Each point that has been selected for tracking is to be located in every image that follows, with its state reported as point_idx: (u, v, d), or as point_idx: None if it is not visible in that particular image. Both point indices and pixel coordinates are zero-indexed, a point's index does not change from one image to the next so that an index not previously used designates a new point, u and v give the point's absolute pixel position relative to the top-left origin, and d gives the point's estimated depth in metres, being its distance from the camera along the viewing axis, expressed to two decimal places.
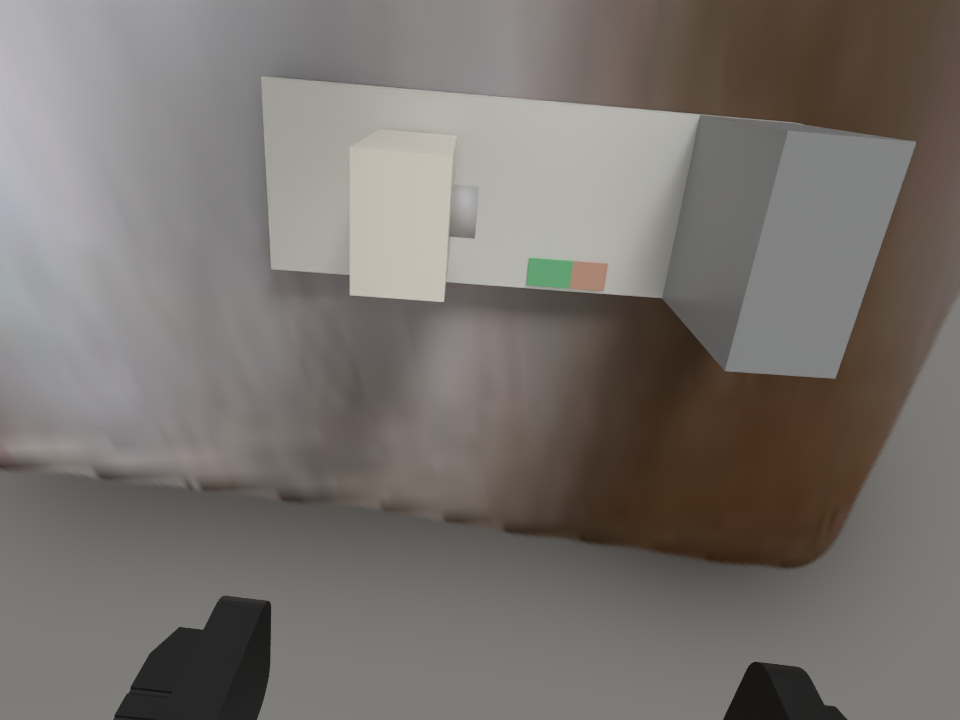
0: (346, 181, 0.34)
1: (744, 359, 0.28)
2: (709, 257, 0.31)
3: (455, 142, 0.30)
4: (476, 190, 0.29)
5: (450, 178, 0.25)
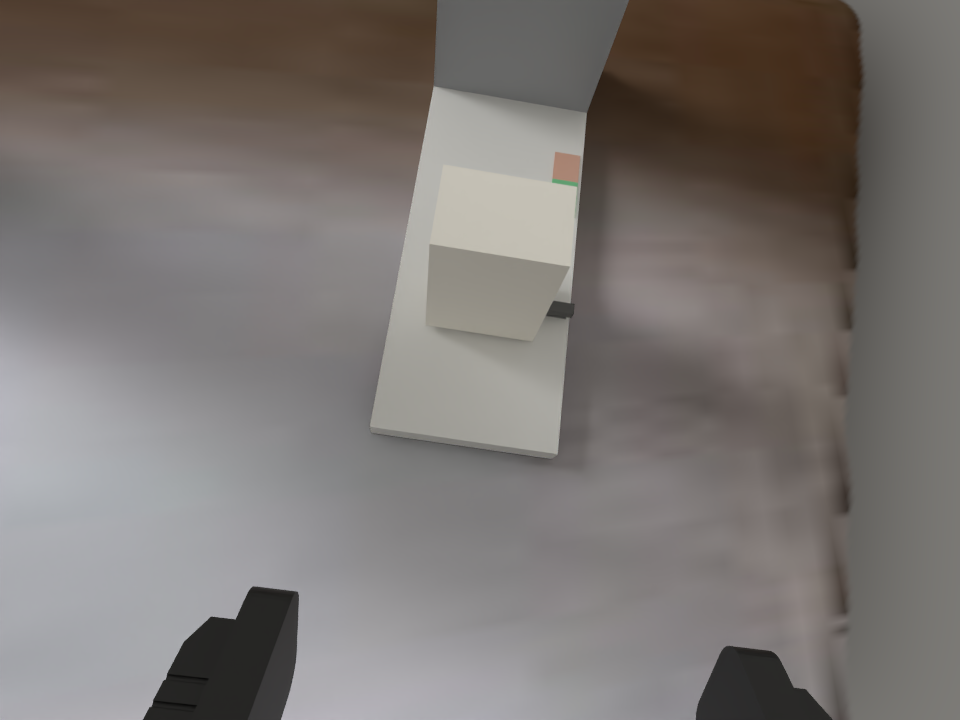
0: (471, 364, 0.35)
1: None
2: (544, 34, 0.36)
3: None
4: None
5: (462, 168, 0.28)
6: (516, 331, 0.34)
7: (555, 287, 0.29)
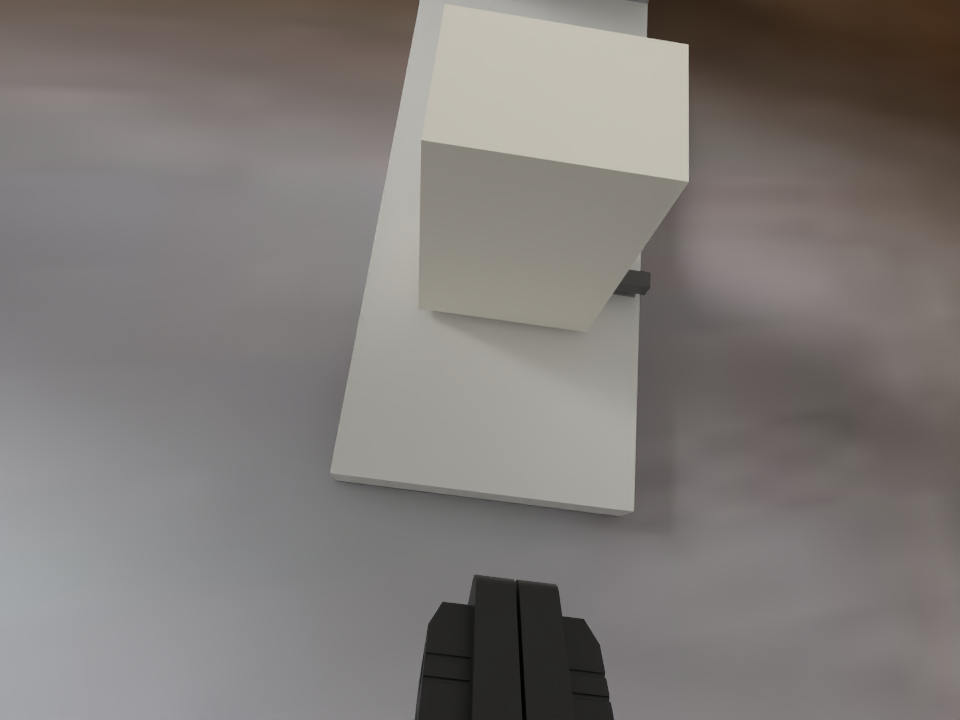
0: (491, 369, 0.22)
1: None
2: None
3: None
4: None
5: (479, 11, 0.15)
6: (563, 315, 0.22)
7: (648, 229, 0.16)
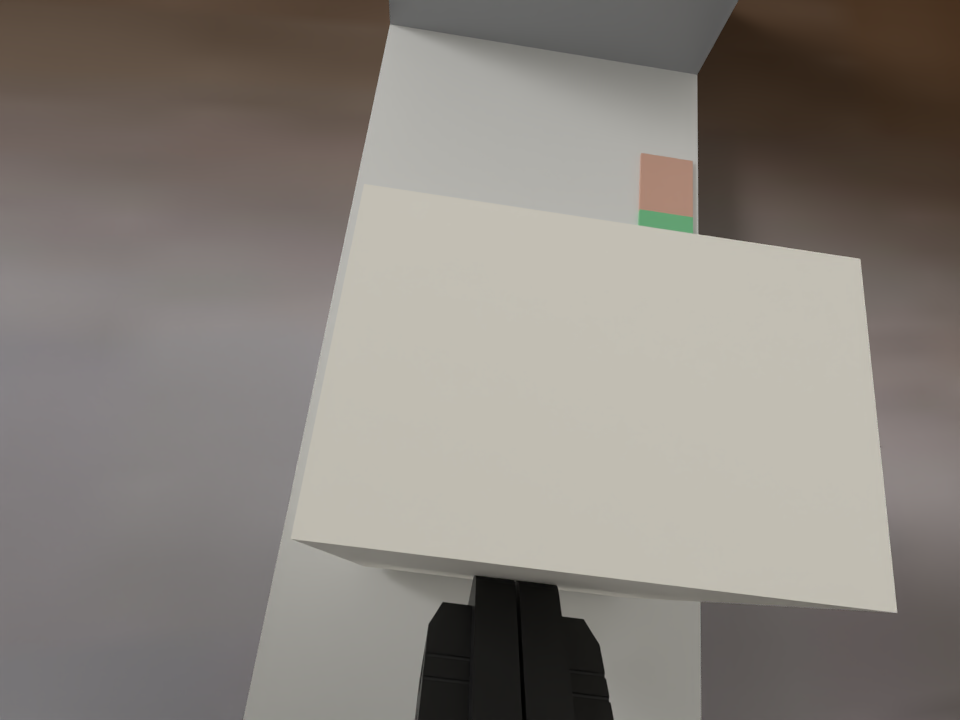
0: None
1: None
2: None
3: None
4: None
5: (436, 199, 0.07)
6: (588, 592, 0.14)
7: (769, 605, 0.08)
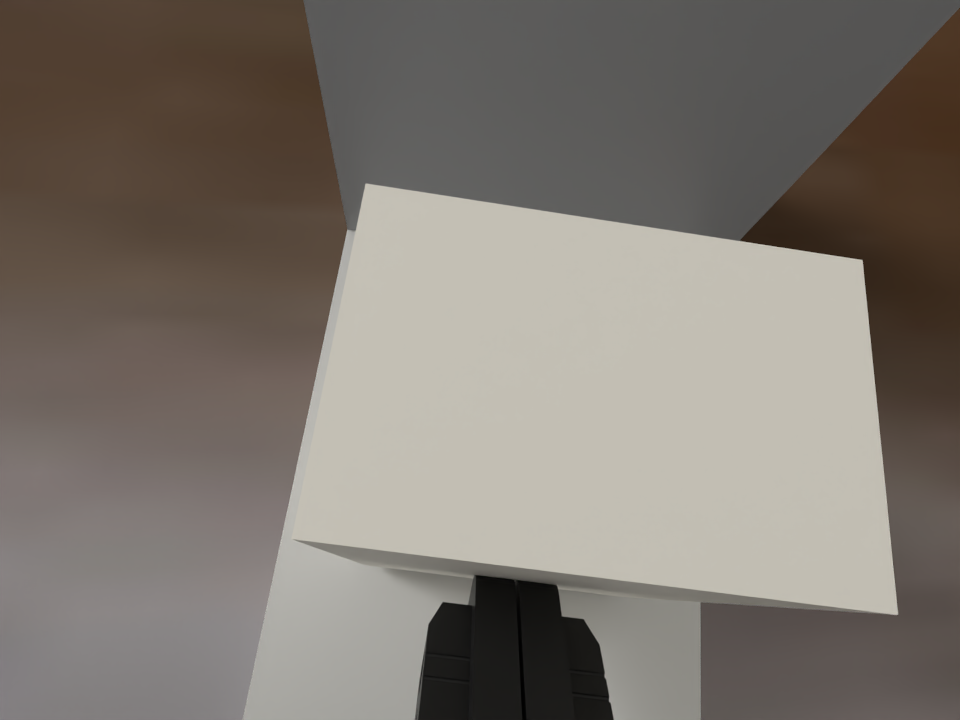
0: None
1: None
2: (625, 134, 0.13)
3: None
4: None
5: (438, 199, 0.07)
6: (588, 592, 0.14)
7: (770, 606, 0.08)
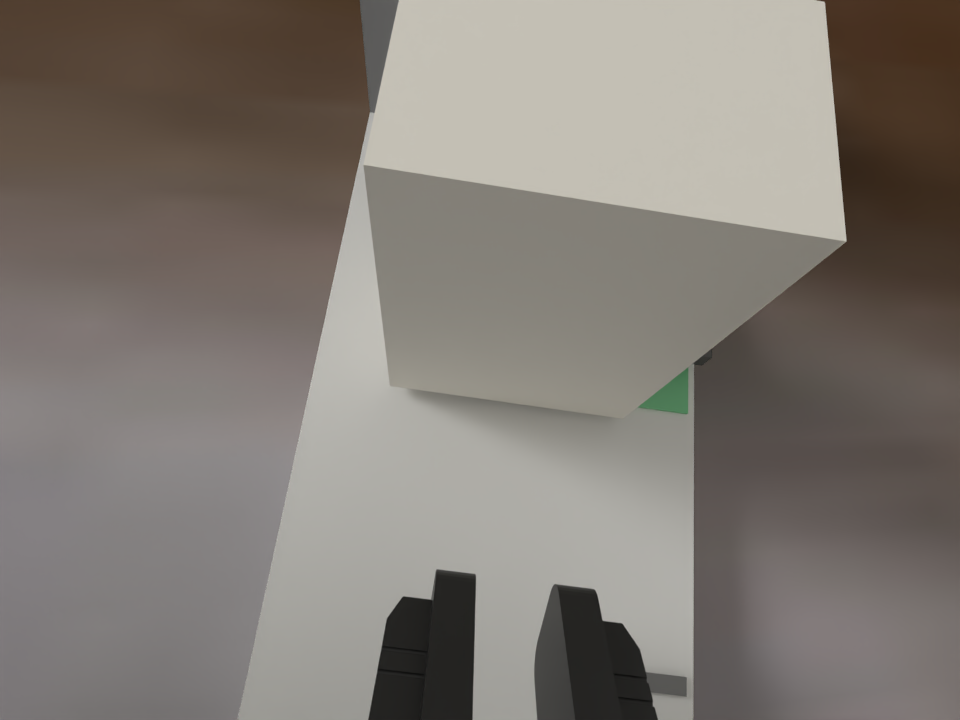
0: None
1: None
2: None
3: None
4: None
5: None
6: (593, 401, 0.15)
7: (748, 308, 0.10)
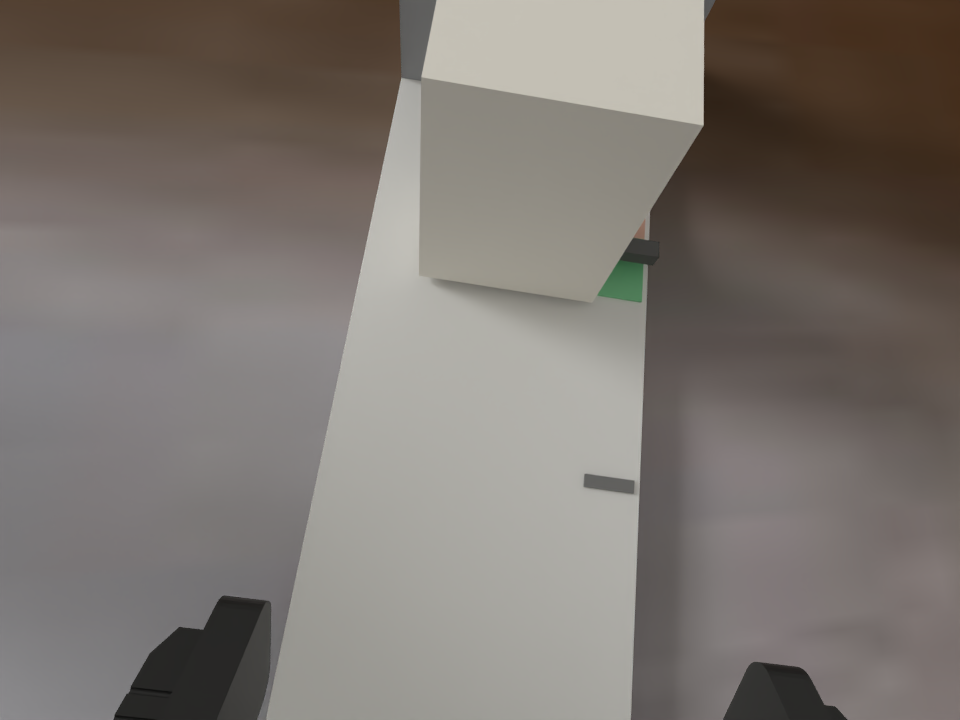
0: (462, 591, 0.19)
1: None
2: None
3: None
4: None
5: None
6: (568, 283, 0.21)
7: (659, 182, 0.15)
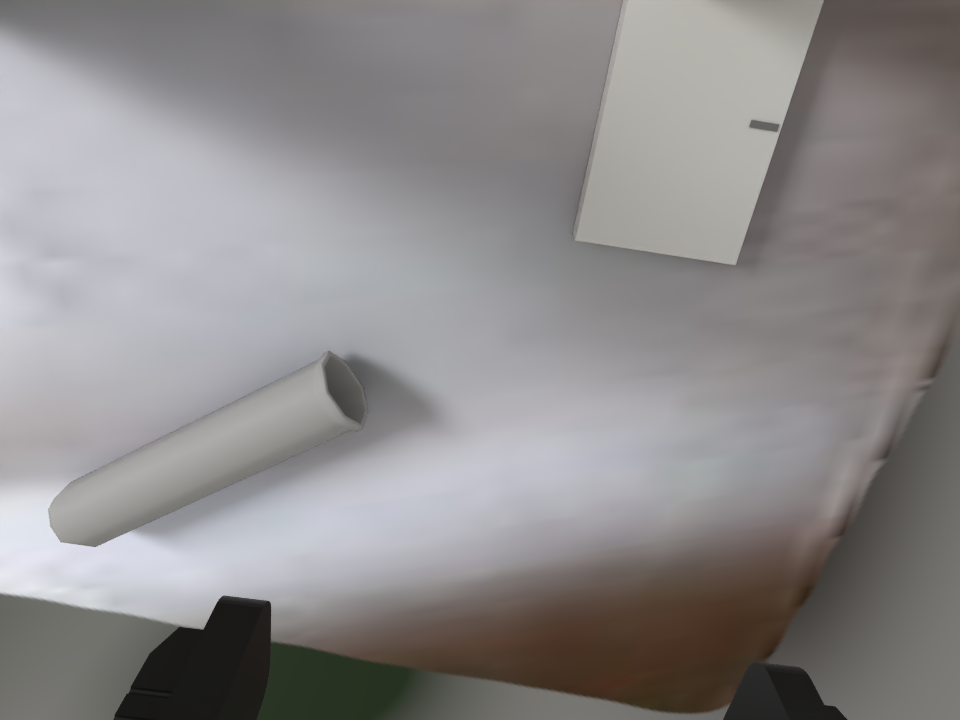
0: (672, 181, 0.37)
1: None
2: None
3: None
4: None
5: None
6: None
7: None
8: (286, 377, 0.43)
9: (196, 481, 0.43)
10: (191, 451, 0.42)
